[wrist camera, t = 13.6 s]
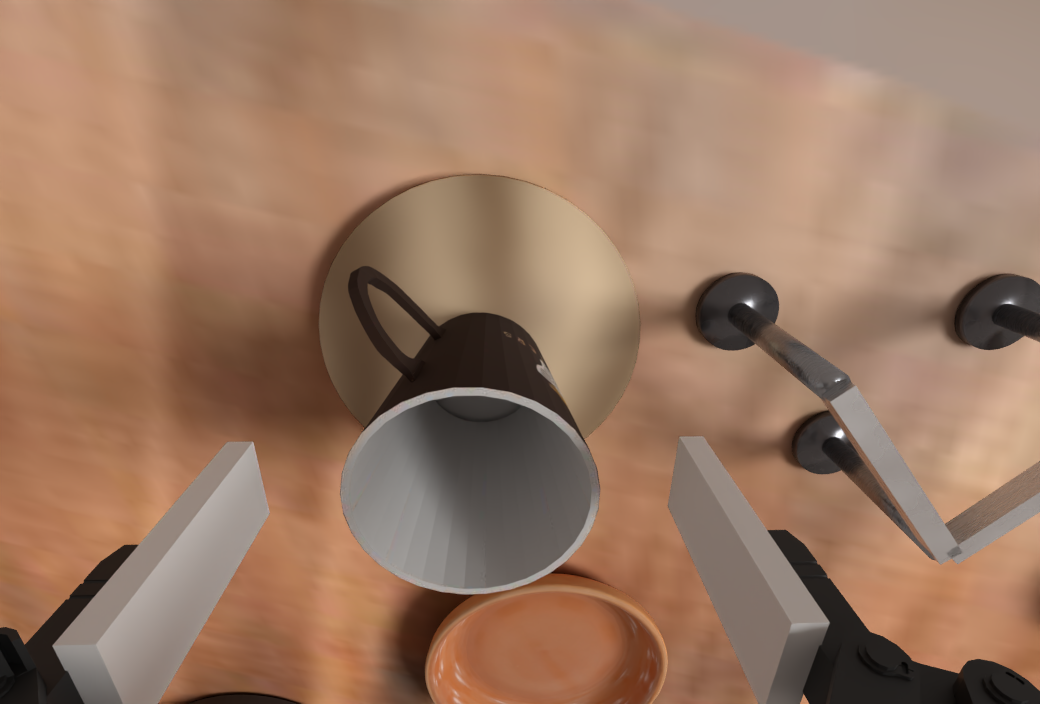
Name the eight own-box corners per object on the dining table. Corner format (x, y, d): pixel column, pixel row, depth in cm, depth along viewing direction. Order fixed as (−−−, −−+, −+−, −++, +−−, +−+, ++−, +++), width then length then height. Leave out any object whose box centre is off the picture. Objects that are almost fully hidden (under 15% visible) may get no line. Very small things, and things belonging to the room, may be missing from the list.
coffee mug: (564, 437, 28) (596, 587, 19) (407, 445, 28) (363, 601, 19) (564, 222, 23) (607, 283, 14) (375, 230, 23) (295, 297, 14)
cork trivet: (344, 466, 29) (340, 475, 28) (300, 171, 23) (294, 173, 22) (620, 463, 30) (623, 472, 29) (654, 176, 23) (659, 178, 23)
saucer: (381, 635, 35) (372, 678, 33) (558, 511, 31) (564, 547, 29) (531, 734, 41) (534, 778, 38) (699, 638, 37) (715, 679, 34)
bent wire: (670, 469, 30) (735, 598, 22) (702, 272, 25) (801, 341, 17) (960, 466, 31) (1128, 588, 23) (1045, 273, 26) (1297, 340, 18)
